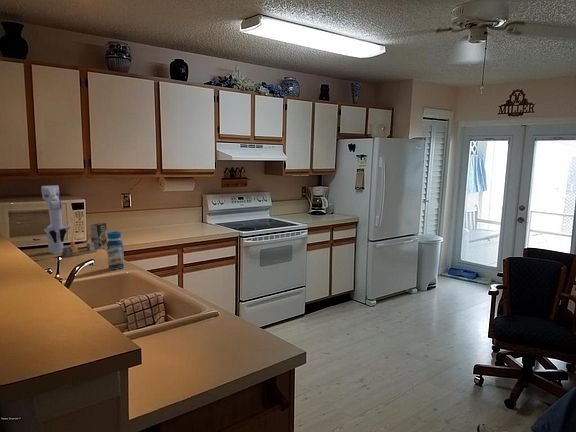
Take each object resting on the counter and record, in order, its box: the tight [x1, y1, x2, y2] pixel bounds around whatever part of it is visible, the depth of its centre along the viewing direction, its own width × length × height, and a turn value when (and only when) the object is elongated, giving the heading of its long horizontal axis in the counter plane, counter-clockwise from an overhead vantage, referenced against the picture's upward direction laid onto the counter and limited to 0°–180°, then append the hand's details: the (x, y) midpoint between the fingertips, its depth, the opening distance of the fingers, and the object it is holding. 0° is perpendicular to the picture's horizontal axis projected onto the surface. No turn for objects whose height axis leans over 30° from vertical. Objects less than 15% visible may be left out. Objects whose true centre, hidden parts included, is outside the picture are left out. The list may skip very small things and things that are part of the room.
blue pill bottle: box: [106, 230, 125, 270], centre depth 237 cm, size 8×8×20 cm
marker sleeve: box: [67, 240, 79, 253], centre depth 272 cm, size 4×4×7 cm
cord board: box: [61, 241, 98, 258], centre depth 275 cm, size 9×18×6 cm, turn 142°
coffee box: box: [89, 222, 108, 250], centre depth 292 cm, size 9×6×16 cm
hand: (58, 242), depth 266 cm, fingers open, 3 cm apart
